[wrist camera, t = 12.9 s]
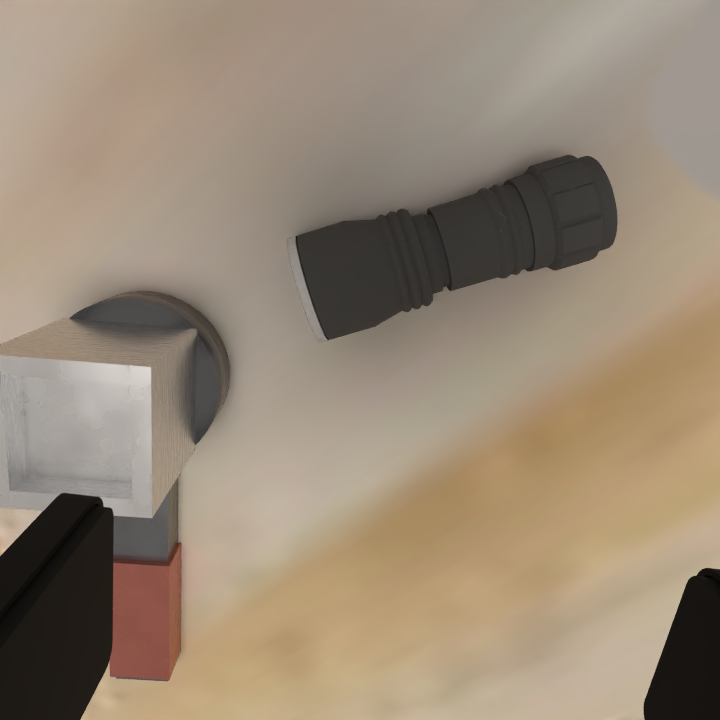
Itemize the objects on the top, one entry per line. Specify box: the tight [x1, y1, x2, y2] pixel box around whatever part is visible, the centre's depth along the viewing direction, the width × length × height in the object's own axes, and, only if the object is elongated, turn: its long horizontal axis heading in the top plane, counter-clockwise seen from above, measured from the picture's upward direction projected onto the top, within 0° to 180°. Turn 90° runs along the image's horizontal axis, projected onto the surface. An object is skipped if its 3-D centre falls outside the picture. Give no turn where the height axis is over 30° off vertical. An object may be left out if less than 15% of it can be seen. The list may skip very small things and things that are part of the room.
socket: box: [0, 318, 197, 518], centre depth 27 cm, size 7×7×7 cm
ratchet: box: [69, 291, 230, 681], centre depth 32 cm, size 24×9×7 cm, turn 175°
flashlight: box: [287, 155, 617, 342], centre depth 29 cm, size 15×5×5 cm, turn 107°
